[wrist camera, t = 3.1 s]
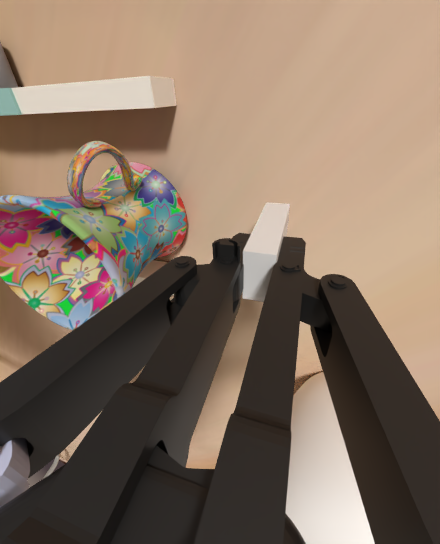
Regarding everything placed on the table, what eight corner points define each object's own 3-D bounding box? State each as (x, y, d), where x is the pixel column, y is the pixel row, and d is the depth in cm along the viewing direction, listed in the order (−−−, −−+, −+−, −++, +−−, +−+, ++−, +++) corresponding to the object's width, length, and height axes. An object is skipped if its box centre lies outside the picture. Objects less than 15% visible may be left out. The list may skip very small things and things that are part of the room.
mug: (176, 271, 26) (110, 355, 18) (96, 224, 26) (-9, 288, 17) (226, 159, 18) (152, 214, 10) (113, 92, 18) (-57, 93, 10)
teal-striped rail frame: (-122, 59, 23) (-177, 55, 20) (165, 13, 15) (135, -2, 12) (7, 267, 35) (-17, 281, 32) (200, 301, 27) (188, 322, 25)
